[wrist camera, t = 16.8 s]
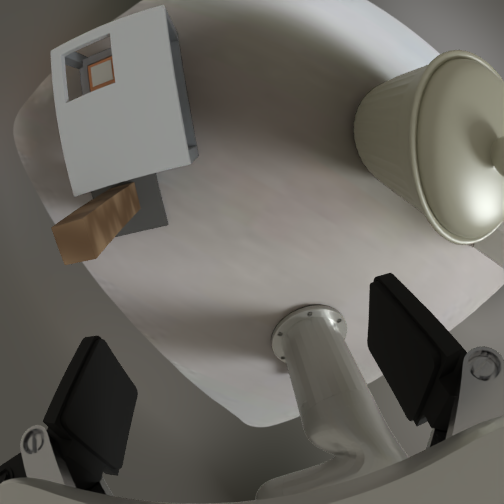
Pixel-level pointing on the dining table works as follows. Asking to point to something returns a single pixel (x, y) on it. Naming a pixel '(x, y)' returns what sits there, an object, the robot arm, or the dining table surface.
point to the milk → (493, 246)
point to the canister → (440, 143)
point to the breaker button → (101, 74)
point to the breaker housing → (125, 104)
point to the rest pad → (142, 204)
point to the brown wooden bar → (95, 224)
